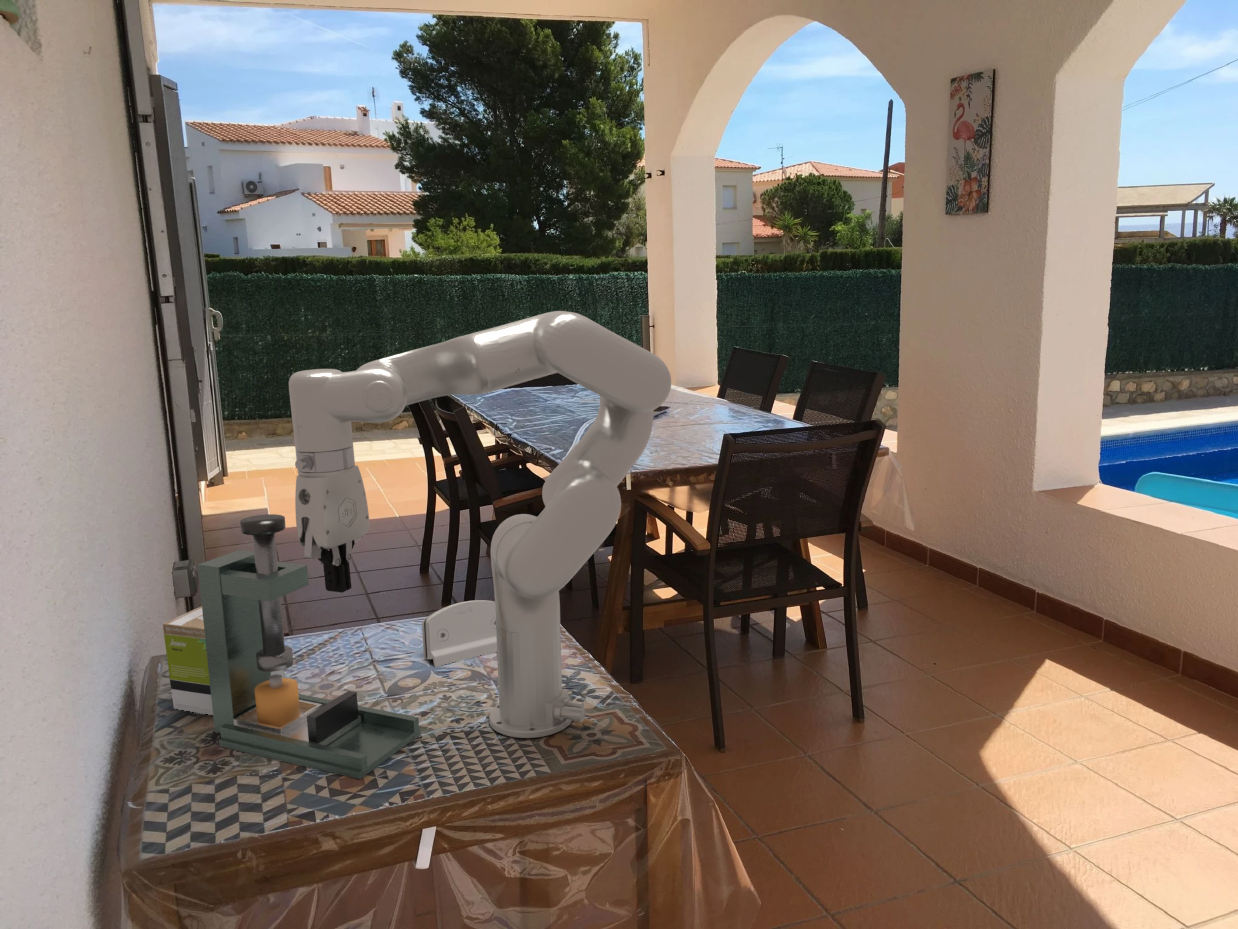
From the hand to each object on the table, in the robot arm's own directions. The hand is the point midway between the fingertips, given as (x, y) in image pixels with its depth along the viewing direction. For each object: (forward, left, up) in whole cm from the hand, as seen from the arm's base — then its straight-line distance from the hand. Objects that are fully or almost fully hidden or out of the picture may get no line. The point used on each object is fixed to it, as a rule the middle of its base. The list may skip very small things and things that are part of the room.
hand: (338, 589), depth 133 cm
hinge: (+3, -37, -24) cm, 44 cm away
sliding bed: (+9, 0, -22) cm, 24 cm away
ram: (+12, 0, -13) cm, 18 cm away
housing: (+13, 0, -21) cm, 25 cm away
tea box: (+29, -7, -24) cm, 38 cm away
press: (+7, 0, -23) cm, 24 cm away
